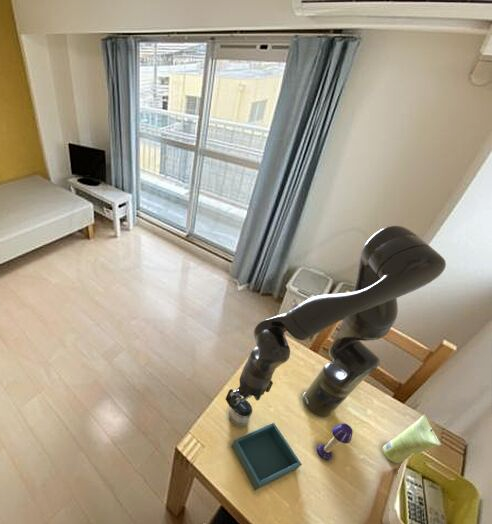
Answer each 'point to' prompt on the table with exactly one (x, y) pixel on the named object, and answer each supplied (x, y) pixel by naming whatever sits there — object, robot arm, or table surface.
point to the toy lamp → (335, 440)
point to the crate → (265, 456)
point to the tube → (411, 441)
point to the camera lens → (241, 413)
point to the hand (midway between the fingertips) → (244, 402)
